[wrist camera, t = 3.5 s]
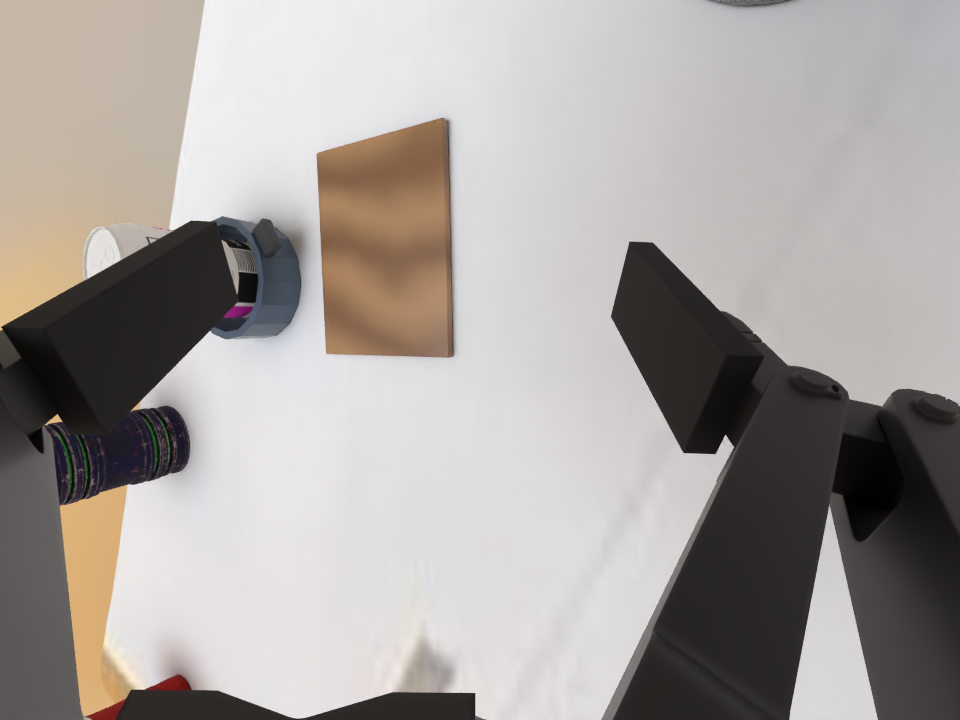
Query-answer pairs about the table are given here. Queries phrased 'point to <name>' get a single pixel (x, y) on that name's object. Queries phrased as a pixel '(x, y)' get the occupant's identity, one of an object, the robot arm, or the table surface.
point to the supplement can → (128, 238)
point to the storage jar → (119, 453)
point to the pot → (264, 280)
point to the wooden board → (387, 244)
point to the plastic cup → (108, 715)
